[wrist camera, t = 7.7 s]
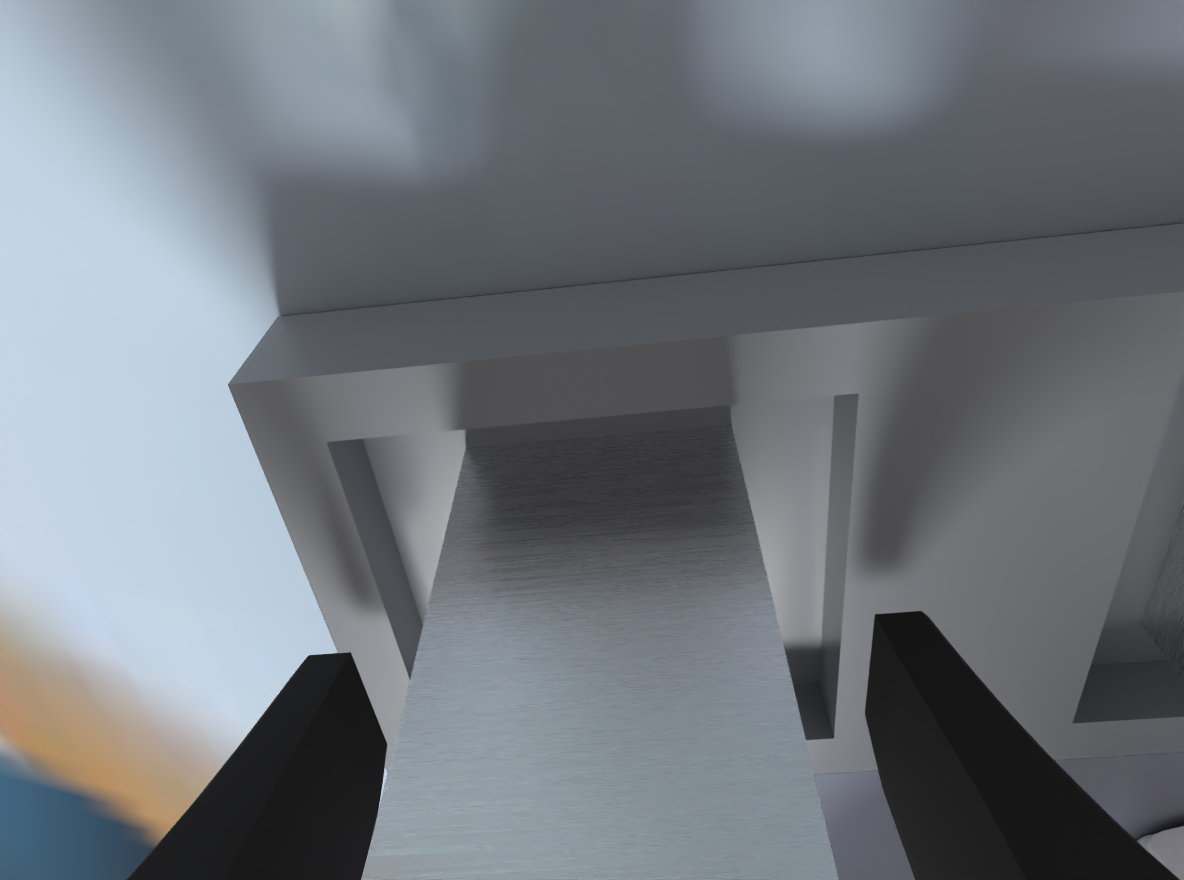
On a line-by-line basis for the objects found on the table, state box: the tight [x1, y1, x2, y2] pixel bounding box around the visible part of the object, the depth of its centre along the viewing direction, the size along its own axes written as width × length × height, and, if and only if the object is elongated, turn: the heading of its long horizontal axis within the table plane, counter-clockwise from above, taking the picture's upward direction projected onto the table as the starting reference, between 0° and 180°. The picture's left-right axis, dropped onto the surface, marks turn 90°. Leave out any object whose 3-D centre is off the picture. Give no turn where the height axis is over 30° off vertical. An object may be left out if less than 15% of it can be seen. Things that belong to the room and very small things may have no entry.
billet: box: [362, 425, 839, 880], centre depth 11 cm, size 5×4×7 cm
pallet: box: [228, 223, 1184, 774], centre depth 13 cm, size 9×20×2 cm, turn 97°
